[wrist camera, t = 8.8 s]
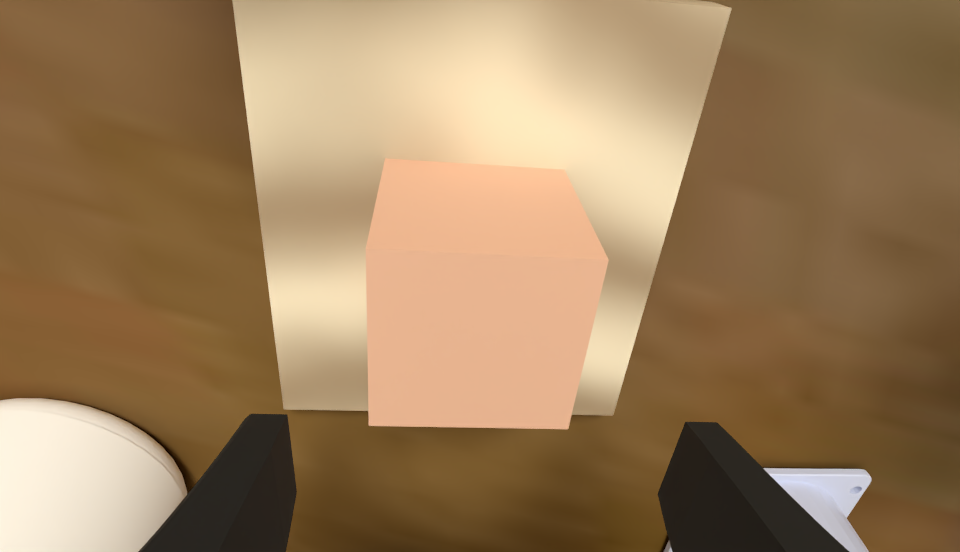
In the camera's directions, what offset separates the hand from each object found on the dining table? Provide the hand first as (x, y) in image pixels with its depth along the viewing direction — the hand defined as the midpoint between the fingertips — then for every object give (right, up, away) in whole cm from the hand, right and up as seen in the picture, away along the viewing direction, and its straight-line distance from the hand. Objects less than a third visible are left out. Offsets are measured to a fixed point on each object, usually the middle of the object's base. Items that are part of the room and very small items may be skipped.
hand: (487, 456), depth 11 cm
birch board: (-1, +5, +8) cm, 9 cm away
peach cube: (-1, +4, +7) cm, 8 cm away
